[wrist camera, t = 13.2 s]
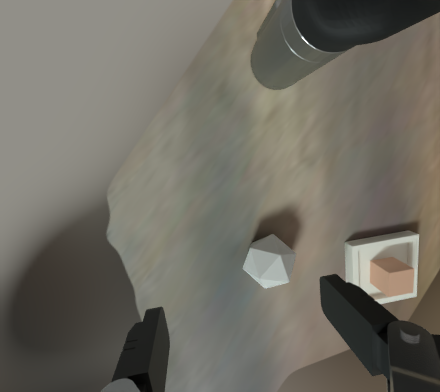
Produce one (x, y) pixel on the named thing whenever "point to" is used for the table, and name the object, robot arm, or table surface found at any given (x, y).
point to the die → (270, 261)
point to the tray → (378, 249)
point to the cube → (391, 276)
